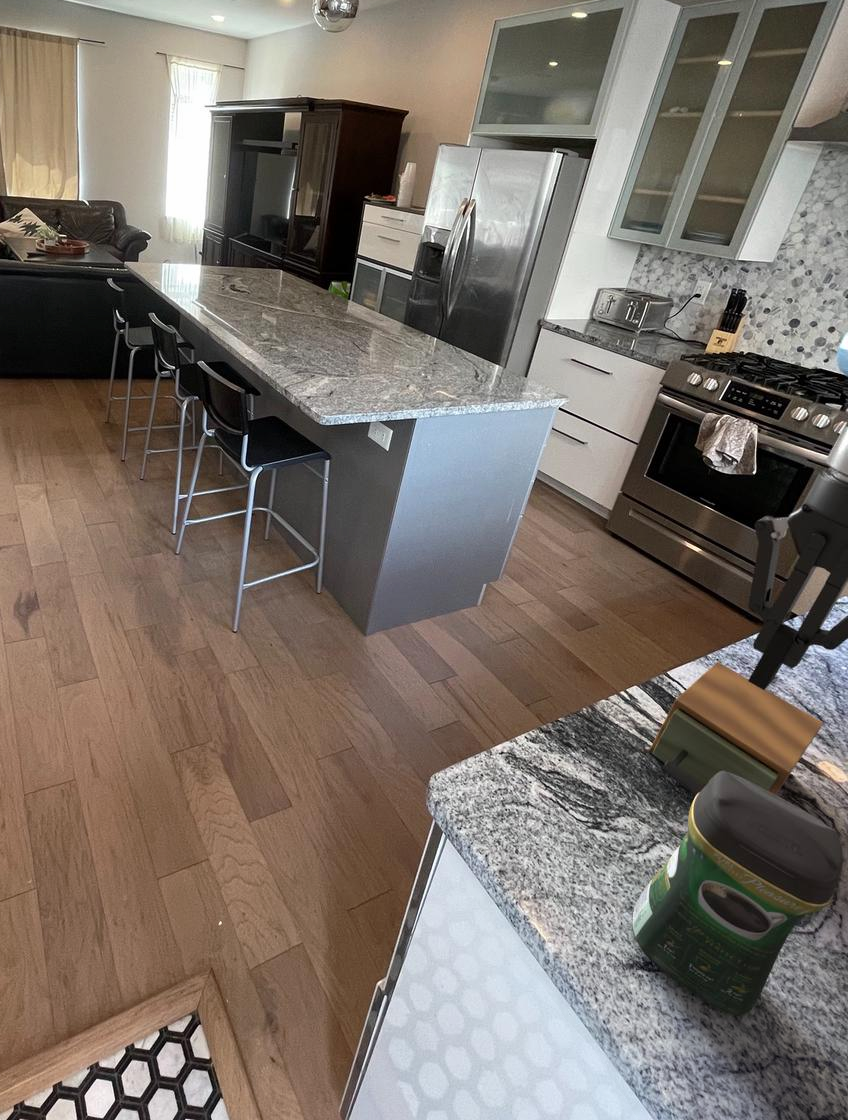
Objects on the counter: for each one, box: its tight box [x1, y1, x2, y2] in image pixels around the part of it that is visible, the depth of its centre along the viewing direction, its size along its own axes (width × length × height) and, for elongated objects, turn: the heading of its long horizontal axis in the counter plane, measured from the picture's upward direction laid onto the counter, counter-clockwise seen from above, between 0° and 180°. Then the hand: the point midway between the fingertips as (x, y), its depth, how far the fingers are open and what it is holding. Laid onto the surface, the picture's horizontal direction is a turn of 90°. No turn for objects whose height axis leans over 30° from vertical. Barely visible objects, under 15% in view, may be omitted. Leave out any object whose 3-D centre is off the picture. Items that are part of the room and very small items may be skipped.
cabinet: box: [648, 661, 824, 796], centre depth 76 cm, size 14×12×9 cm
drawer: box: [651, 709, 779, 796], centre depth 74 cm, size 17×10×7 cm, turn 127°
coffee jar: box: [631, 771, 844, 1016], centre depth 53 cm, size 10×8×19 cm
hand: (760, 680), depth 66 cm, fingers closed
